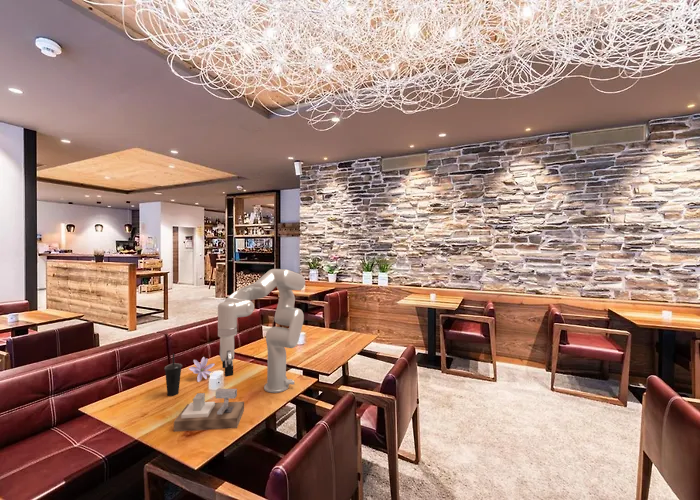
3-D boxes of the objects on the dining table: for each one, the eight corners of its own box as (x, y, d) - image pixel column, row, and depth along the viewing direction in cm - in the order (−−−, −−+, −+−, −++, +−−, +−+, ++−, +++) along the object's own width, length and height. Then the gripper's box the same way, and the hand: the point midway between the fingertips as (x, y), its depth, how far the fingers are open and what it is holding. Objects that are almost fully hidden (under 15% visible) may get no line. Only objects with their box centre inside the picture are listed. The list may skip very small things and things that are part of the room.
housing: (244, 410, 140) (244, 400, 140) (237, 427, 126) (237, 417, 126) (187, 413, 137) (187, 403, 137) (173, 431, 123) (173, 420, 123)
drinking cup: (185, 391, 158) (185, 352, 158) (172, 398, 150) (172, 356, 150) (173, 389, 160) (174, 350, 160) (160, 395, 153) (160, 354, 153)
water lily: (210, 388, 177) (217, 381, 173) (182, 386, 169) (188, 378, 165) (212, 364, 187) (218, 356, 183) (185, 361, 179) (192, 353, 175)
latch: (217, 407, 134) (218, 388, 134) (236, 407, 134) (237, 388, 134) (209, 417, 126) (209, 397, 126) (229, 417, 126) (229, 397, 126)
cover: (214, 404, 137) (215, 390, 137) (207, 417, 127) (207, 401, 127) (190, 406, 136) (190, 391, 136) (181, 418, 126) (181, 402, 126)
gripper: (216, 327, 139) (216, 365, 139) (219, 338, 123) (220, 381, 124) (234, 325, 142) (234, 363, 143) (239, 335, 127) (240, 377, 127)
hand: (227, 371), depth 133 cm, fingers open, 9 cm apart
